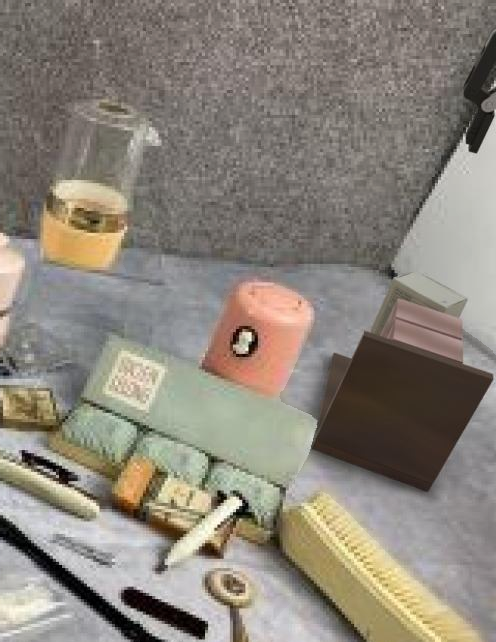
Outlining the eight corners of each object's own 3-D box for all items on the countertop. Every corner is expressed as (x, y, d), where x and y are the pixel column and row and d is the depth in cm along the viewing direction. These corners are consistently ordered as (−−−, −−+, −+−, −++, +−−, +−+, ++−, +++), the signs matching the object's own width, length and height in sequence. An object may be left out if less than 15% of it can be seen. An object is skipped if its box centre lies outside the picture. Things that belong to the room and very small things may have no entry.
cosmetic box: (420, 398, 98) (472, 299, 91) (396, 409, 95) (448, 308, 88) (370, 366, 101) (417, 268, 95) (346, 375, 99) (392, 276, 92)
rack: (330, 359, 103) (376, 256, 96) (431, 394, 101) (487, 291, 93) (311, 448, 89) (363, 335, 82) (428, 492, 86) (493, 379, 79)
